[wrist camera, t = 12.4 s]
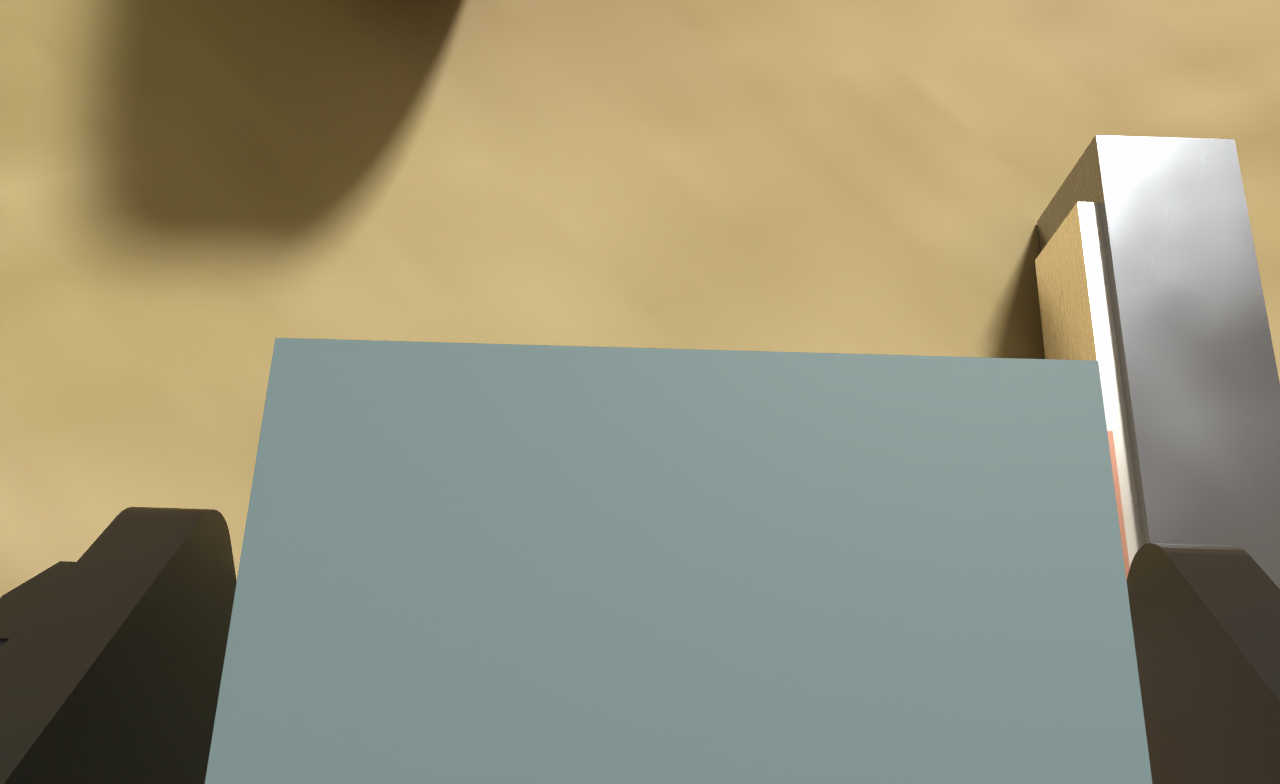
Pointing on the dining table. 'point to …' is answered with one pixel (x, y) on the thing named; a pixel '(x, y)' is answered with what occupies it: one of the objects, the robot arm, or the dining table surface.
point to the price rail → (1170, 338)
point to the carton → (678, 571)
